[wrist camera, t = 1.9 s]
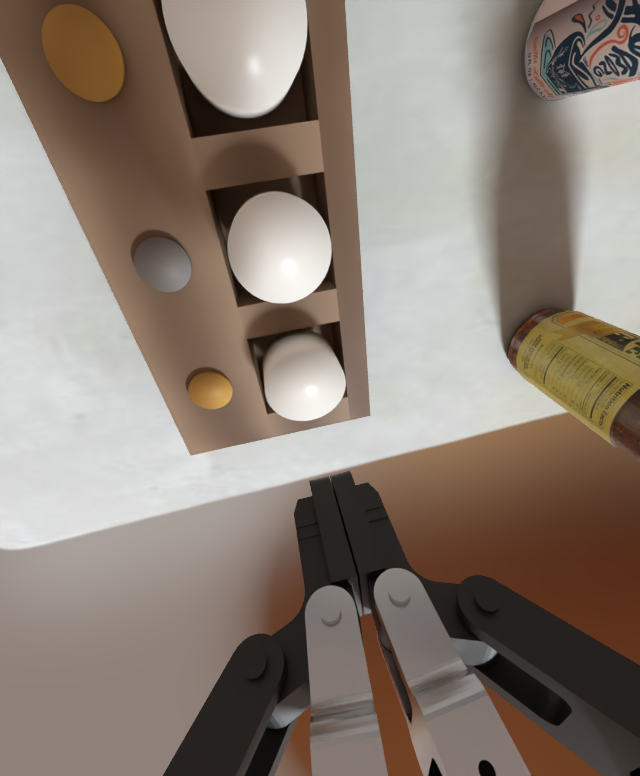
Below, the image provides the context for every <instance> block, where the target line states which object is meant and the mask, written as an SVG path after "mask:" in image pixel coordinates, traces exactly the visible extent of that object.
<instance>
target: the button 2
mask: <svg viewBox="0 0 640 776" xmlns="http://www.w3.org/2000/svg"><path fill="white" fill-rule="evenodd" d="M227 248H228V257H229V262H230V265H231V268H232V270H233V272H234V274H235V276H236V278H237V279H238V281H239V282H240V283H241V285H242V286H243V287H244V288H245V289H246V290H247V291H248V292H250V293H251V294H252V295H254V296H256V297H257V298H259V299H262V300H264V301H267V302H271V303H291V302H295V301H298V300H300V299H303V298H304V297H306V296H308V295H309V294H311V293H312V292H313V291H314V290H315V289H316V288H317V287H318V286H319V285H320V284H321V282H322V281H323V279H324V278H325V276H326V273H327V271H328V268H329V265H330V261H331V252H332V249H331V239H330V235H329V231H328V229H327V226H326V224H325V222H324V220H323V219H322V217H321V216H320V214H319V213H318V212H317V211H316V210H315V209H314V208H313V207H312V206H311V205H310V204H308V203H307V202H306V201H304V200H302V199H300V198H298V197H296V196H294V195H292V194H289V193H286V192H283V191H277V190H269V191H263V192H260V193H257V194H255V195H253V196H251V197H250V198H248V199H247V200H246V201H245V202H244V203H243V204H242V205H241V206H240V208H239V209H238V211H237V212H236V214H235V216H234V219H233V222H232V225H231V228H230V231H229V236H228V246H227Z"/></svg>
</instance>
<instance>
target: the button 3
mask: <svg viewBox="0 0 640 776" xmlns="http://www.w3.org/2000/svg"><path fill="white" fill-rule="evenodd" d="M263 374H264V386H265V395H266V399H267V401H268V403H269V405H270V406H271V408H272V409H273V410H274V411H275V412H276V413H278V414H279V415H281V416H282V417H285V418H287V419H290V420H295V421H308V420H313V419H317V418H320V417H322V416H324V415H326V414H327V413H329V412H330V411H332V410H333V409H334V408H335V407H336V406H337V405H338V403H339V402H340V401H341V399H342V397H343V395H344V392H345V387H346V379H345V375H344V372H343V370H342V368H341V366H340V364H339V362H338V360H337V358H336V355H335V353H334V351H333V349H332V347H331V345H330V344H329V342H328V341H327V340H326V339H325V338H324V337H323V336H322V335H320V334H318V333H317V332H314V331H311V330H307V329H296V330H291V331H287V332H284V333H282V334H280V335H279V336H277V337H276V338H275V339H274V340H272V341H271V343H270V344H269V345H268V347H267V348H266V350H265V353H264V356H263Z"/></svg>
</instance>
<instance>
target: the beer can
mask: <svg viewBox="0 0 640 776" xmlns="http://www.w3.org/2000/svg"><path fill="white" fill-rule="evenodd" d="M524 55H525V73H526V77H527V80H528V83H529V85H530V87H531V89H532V90H533V92H534V93H535V94H536V95H538V96H539V97H540V98H542V99H545V100H549V101H554V100H560V99H564V98H567V97H570V96H574V95H578V94H583V93H587V92H591V91H595V90H599V89H603V88H607V87H611V86H615V85H619V84H624V83H628V82H632V81H636V80H640V0H544V1H543V2H542V4H541V6H540V7H539V9H538V11H537V13H536V15H535V17H534V19H533V21H532V24H531V27H530V30H529V34H528V37H527V41H526V47H525V54H524Z"/></svg>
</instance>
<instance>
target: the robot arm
mask: <svg viewBox="0 0 640 776" xmlns="http://www.w3.org/2000/svg"><path fill="white" fill-rule="evenodd" d="M330 479H331V482H330ZM330 479H329V476H328V477H323V478H319V479H315V480H311V481H309V482H310V486H311V491H312V496H311V497H307V498H303V499H299V500H298V501H297V505H296V509H295V512H294V517H295V524H296V530H297V538H298V544H299V551H300V558H301V564H302V571H303V578H304V585H305V598H304V602H303V605H302V608H301V610H300V612H299V613H298V614H297V616H296V617H295V618H294V619H293V620H292V621H291V622H290V623H289V624H287V625H286V626H284V627H283V628H282V629H280V630H279V631H277V632H276V633H275V634H273V635H272V636H270V635H267V634H255V635H253V636H250V637H248V638H247V639H245V640H244V641H243V642H242V643H241V644H240V645H239V646H238V647H237V649H236V651H235V652H234V653H233V655H232V657H231V659H230V661H229V662H228V664H227V665H226V667H225V669H224V671H223V672H222V674H221V676H220V678H219V679H218V681H217V683H216V684H215V686H214V688H213V690H212V691H211V693H210V695H209V697H208V698H207V700H206V702H205V703H204V705H203V707H202V709H201V711H200V712H199V714H198V716H197V718H196V719H195V721H194V723H193V724H192V726H191V728H190V730H189V731H188V733H187V735H186V736H185V738H184V740H183V742H182V743H181V745H180V747H179V748H178V750H177V752H176V754H175V756H174V757H173V759H172V761H171V762H170V764H169V766H168V768H167V769H166V771H165V773H164V774H163V776H274V775H275V773H276V770H277V768H278V765H279V763H280V760H281V758H282V756H283V753H284V750H285V748H286V746H287V743H288V741H289V738H290V736H291V733H292V730H293V728H294V726H295V723H296V721H297V718H298V716H299V715H300V714H301V713H302V712H303V711H305V710H306V709H307V708H308V707H309V706H311V720H310V746H311V762H312V776H388V774H387V768H386V763H385V758H384V752H383V747H382V742H381V736H380V731H379V726H378V721H377V715H376V711H375V706H374V701H373V696H372V691H371V686H370V680H369V676H368V670H367V665H366V659H365V654H364V647H363V646H364V645H363V637H362V630H361V622H360V616H362V609H361V604H362V608H363V611H364V615H365V614H369V613H372V616H373V619H374V623H375V626H376V630H377V637H378V642H379V645H380V648H381V651H382V653H383V656H384V659H385V662H386V665H387V668H388V670H389V673H390V676H391V679H392V681H393V684H394V687H395V690H396V693H397V695H398V698H399V701H400V704H401V707H402V709H403V712H404V715H405V718H406V721H407V724H408V727H409V731H410V735H411V739H412V742H413V746H414V749H415V752H416V755H417V758H418V761H419V764H420V767H421V770H422V772H423V775H424V776H532V775H531V774H530V773H529V771H528V769H527V767H526V765H525V763H524V761H523V759H522V758H521V756H520V754H519V752H518V750H517V748H516V746H515V745H514V743H513V741H512V739H511V737H510V735H509V733H508V732H507V729H506V728H505V726H504V724H503V722H502V720H501V718H500V716H499V715H498V713H497V711H496V709H495V707H494V705H493V703H492V701H491V700H490V698H489V696H488V694H487V692H486V690H485V689H484V687H483V685H482V684H481V683H480V681H479V680H481V681H482V682H483V683H485V684H486V685H487V686H488V687H490V688H491V689H492V690H494V691H495V692H496V693H497V694H499V695H500V696H501V697H503V698H504V699H505V700H506V701H508V702H509V703H510V704H512V705H513V706H514V707H515V708H517V709H518V710H519V711H521V712H522V713H523V714H524V715H526V716H527V717H528V718H530V719H531V720H532V721H533V722H535V723H536V724H537V725H539V726H540V727H542V728H543V729H544V730H545V731H546V732H548V733H549V734H550V735H551V736H553V737H554V738H555V739H557V740H558V741H559V742H561V743H562V744H563V745H564V746H566V747H567V748H568V749H569V750H571V751H572V752H573V753H575V754H576V755H577V756H578V757H580V758H581V759H582V760H584V761H585V762H586V763H587V764H589V765H590V766H591V767H593V768H594V769H595V770H597V771H598V772H599V773H600V774H602V775H603V776H640V666H639V665H638V664H636V663H635V662H633V661H631V660H630V659H628V658H626V657H624V656H623V655H621V654H619V653H618V652H616V651H614V650H613V649H611V648H609V647H607V646H605V645H604V644H602V643H601V642H599V641H597V640H596V639H594V638H592V637H590V636H589V635H587V634H585V633H584V632H582V631H580V630H579V629H577V628H575V627H574V626H572V625H570V624H568V623H567V622H565V621H563V620H562V619H560V618H558V617H557V616H555V615H553V614H551V613H550V612H548V611H546V610H545V609H543V608H541V607H540V606H538V605H536V604H535V603H533V602H531V601H529V600H527V599H526V598H524V597H523V596H521V595H519V594H517V593H516V592H514V591H512V590H510V589H509V588H507V587H506V586H504V585H502V584H500V583H499V582H497V581H495V580H493V579H492V578H489V577H486V576H482V575H474V576H470V577H467V578H466V579H464V581H462V583H461V584H453V583H442V582H435V581H431V580H428V579H426V578H423V577H422V576H420V575H419V574H418V573H416V572H415V571H414V570H413V569H412V568H411V566H410V565H409V563H408V561H407V559H406V557H405V554H404V552H403V550H402V547H401V545H400V543H399V540H398V538H397V536H396V534H395V531H394V529H393V527H392V524H391V522H390V520H389V518H388V515H387V512H386V510H385V508H384V505H383V503H382V500H381V498H380V496H379V493H378V492H377V491H376V490H375V489H374V488H373V487H372V486H371V485H370V484H369V483H364V484H360V485H356V486H355V483H354V481H353V478H352V475H351V473H350V471H348V472H344V473H339V474H336V475H331V476H330Z"/></svg>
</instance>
